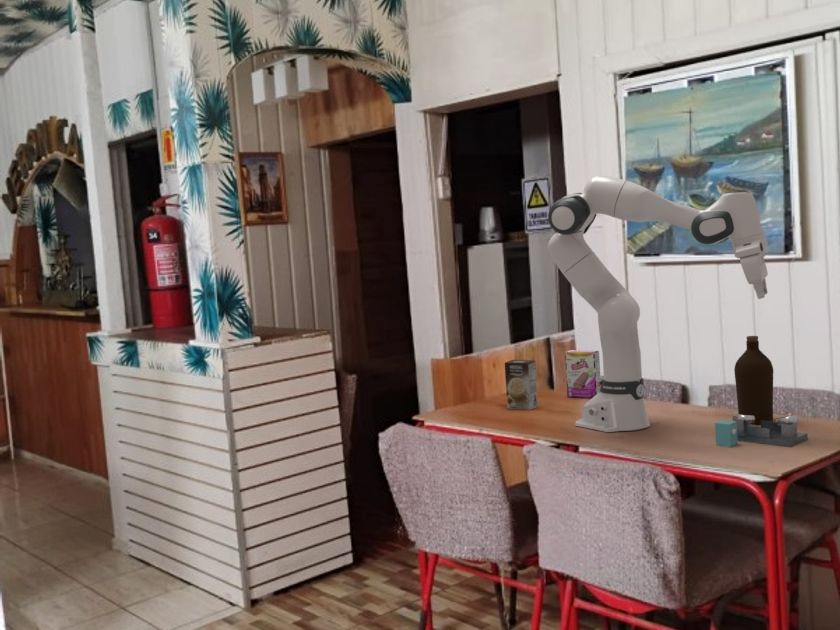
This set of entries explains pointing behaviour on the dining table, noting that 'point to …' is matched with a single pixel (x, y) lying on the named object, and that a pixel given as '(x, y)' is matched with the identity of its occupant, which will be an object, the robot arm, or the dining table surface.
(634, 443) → the dining table surface
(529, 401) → the coffee box
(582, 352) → the candy bar box
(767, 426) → the shaft rig
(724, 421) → the coupler
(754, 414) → the olive oil
